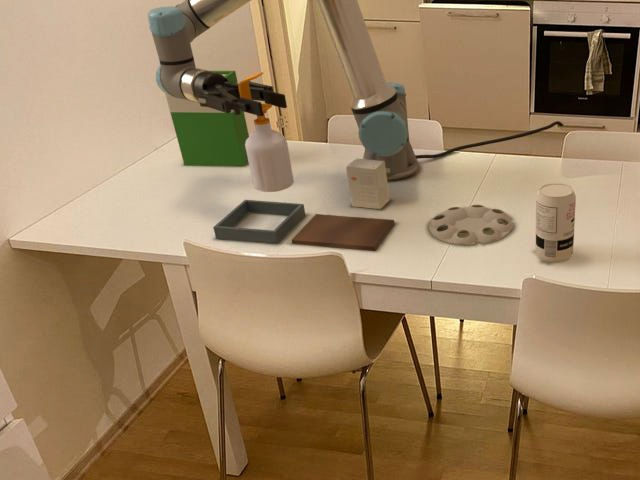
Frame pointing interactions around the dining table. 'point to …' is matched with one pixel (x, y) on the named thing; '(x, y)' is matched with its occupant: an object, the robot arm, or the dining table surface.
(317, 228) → the walnut board
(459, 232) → the paint palette
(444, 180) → the dining table surface
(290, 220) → the square frame
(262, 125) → the soap bottle
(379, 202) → the small box
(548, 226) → the supplement can
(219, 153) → the hardback book
